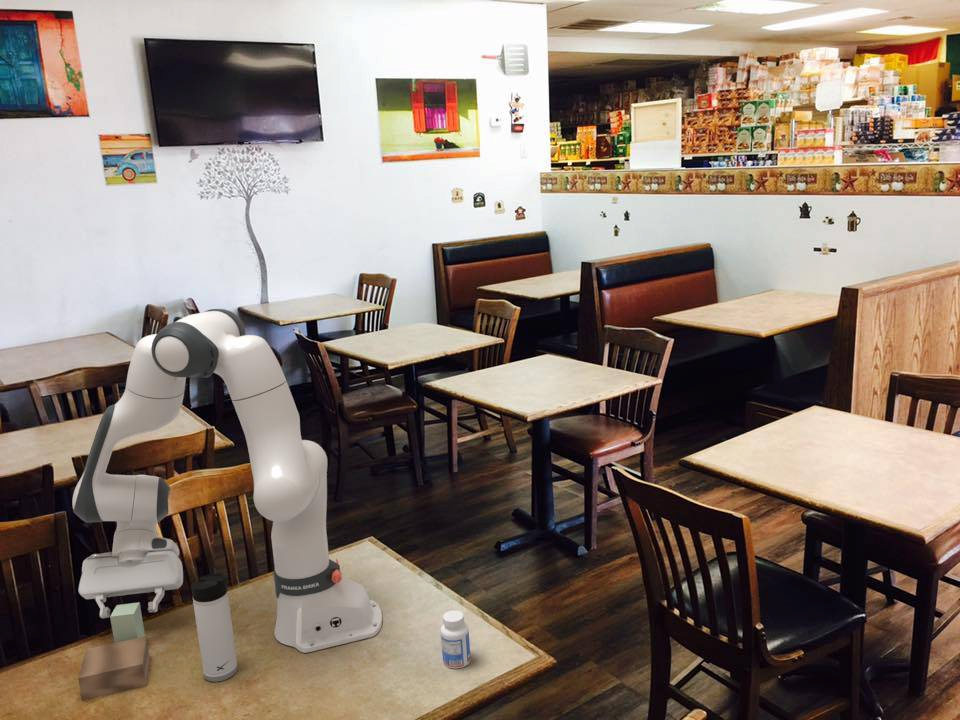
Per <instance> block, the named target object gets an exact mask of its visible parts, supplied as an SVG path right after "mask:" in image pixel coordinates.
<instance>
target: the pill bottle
mask: <svg viewBox="0 0 960 720" xmlns="http://www.w3.org/2000/svg"><path fill="white" fill-rule="evenodd" d="M440 639H441V640H440V641H441V652H442V654H441V655H442V662H443V664H444V666H446V667H447V668H449V669H454V670H455V669H461V668H465V667H467V666H468V665H469V663H470V662H471V645H470V644H471V643H470V631H469V625H468V624H467V622H465V615H464V613H463V612H462V611H460V610H457V609H456V610H449V611H446V612H445V613H444V614H443V615H442V625H441V627H440Z"/></svg>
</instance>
